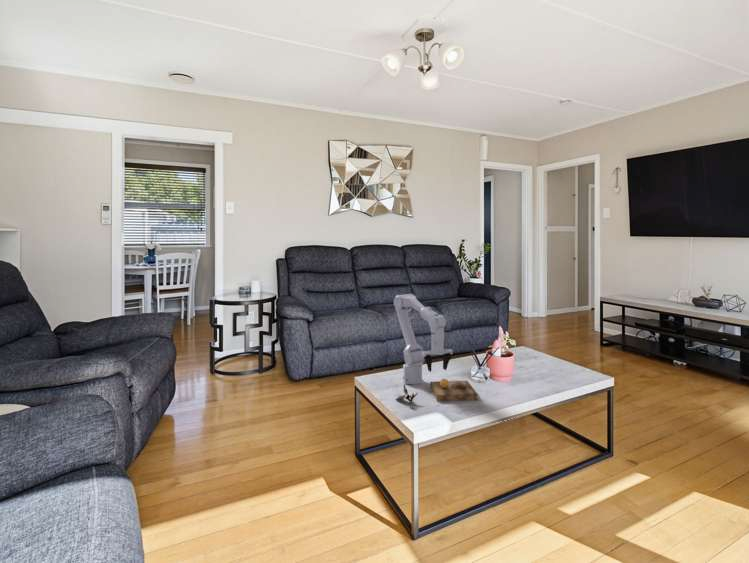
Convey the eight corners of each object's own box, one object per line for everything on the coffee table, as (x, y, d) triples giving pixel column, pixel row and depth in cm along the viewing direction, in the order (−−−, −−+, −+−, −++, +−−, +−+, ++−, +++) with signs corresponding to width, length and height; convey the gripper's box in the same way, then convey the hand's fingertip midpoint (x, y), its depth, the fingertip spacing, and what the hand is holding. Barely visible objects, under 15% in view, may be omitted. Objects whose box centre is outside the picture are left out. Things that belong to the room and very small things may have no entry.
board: (436, 401, 177) (437, 394, 176) (430, 387, 193) (430, 381, 192) (477, 400, 178) (477, 393, 177) (467, 386, 194) (467, 380, 193)
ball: (440, 389, 183) (440, 380, 182) (438, 386, 187) (439, 377, 186) (449, 389, 183) (449, 380, 182) (447, 385, 187) (447, 377, 186)
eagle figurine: (420, 398, 178) (405, 389, 184) (416, 388, 174) (401, 379, 180) (409, 410, 174) (394, 400, 181) (404, 401, 170) (390, 391, 177)
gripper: (426, 344, 179) (426, 374, 181) (455, 342, 183) (455, 371, 185) (420, 341, 186) (420, 369, 188) (448, 338, 190) (448, 366, 192)
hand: (437, 370), depth 187 cm, fingers open, 7 cm apart
